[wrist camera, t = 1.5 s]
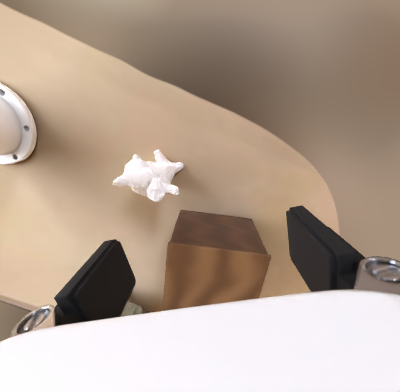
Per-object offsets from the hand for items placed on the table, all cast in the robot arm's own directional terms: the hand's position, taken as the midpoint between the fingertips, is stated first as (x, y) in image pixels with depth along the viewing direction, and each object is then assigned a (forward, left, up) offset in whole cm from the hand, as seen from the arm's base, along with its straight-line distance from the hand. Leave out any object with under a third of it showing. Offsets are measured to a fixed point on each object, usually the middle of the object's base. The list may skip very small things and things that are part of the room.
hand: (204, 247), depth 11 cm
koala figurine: (-7, -2, -23) cm, 25 cm away
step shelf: (+3, -20, -23) cm, 30 cm away
